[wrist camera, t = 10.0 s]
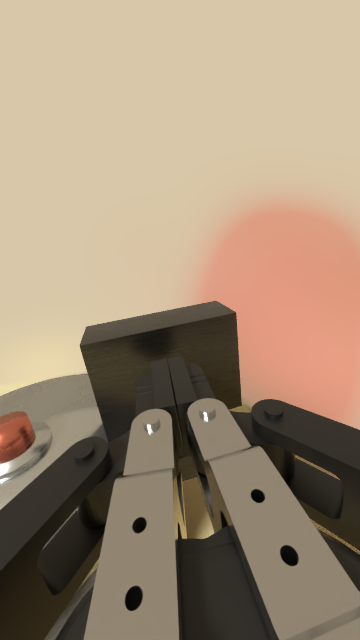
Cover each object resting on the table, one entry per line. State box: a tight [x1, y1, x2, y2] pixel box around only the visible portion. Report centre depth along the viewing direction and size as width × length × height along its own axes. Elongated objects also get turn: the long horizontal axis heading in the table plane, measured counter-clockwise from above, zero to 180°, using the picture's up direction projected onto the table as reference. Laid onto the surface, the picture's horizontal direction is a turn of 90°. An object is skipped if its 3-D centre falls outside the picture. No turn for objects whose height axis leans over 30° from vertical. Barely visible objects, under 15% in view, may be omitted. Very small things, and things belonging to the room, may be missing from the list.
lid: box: [0, 301, 242, 585], centre depth 14 cm, size 22×17×7 cm
